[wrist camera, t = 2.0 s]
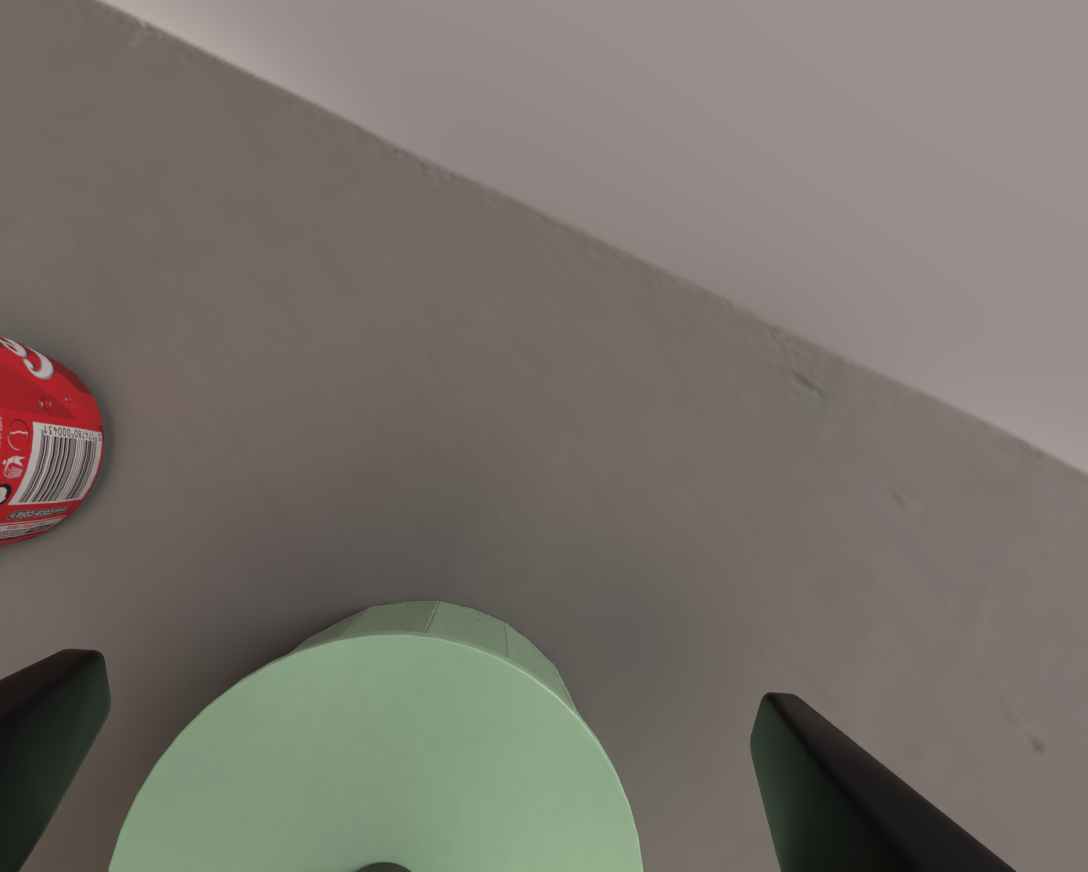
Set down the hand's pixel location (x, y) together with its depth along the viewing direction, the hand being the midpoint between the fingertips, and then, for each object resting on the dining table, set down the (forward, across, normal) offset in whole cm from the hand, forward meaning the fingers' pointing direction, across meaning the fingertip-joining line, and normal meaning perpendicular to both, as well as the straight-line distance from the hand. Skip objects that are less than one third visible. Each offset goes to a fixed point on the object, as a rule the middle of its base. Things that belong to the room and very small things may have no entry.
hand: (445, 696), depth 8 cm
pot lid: (+4, +1, +10) cm, 11 cm away
